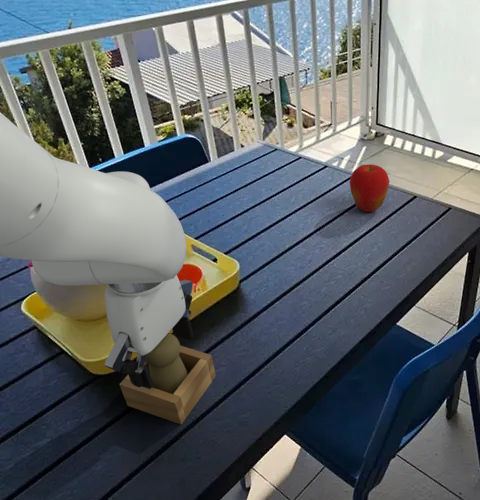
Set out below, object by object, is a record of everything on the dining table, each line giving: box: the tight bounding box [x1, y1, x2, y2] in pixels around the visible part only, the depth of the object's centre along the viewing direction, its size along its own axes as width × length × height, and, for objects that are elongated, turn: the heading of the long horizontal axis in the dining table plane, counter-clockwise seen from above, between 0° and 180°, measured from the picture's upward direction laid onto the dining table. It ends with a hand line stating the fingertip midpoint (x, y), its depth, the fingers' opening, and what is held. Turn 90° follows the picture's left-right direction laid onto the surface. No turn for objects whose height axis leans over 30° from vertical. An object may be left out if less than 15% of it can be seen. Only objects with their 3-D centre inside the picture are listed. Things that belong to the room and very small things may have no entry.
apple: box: [349, 164, 391, 213], centre depth 118 cm, size 9×9×12 cm
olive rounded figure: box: [145, 332, 188, 394], centre depth 74 cm, size 6×6×11 cm
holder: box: [119, 345, 217, 425], centre depth 75 cm, size 9×9×5 cm
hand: (164, 359), depth 73 cm, fingers open, 9 cm apart
